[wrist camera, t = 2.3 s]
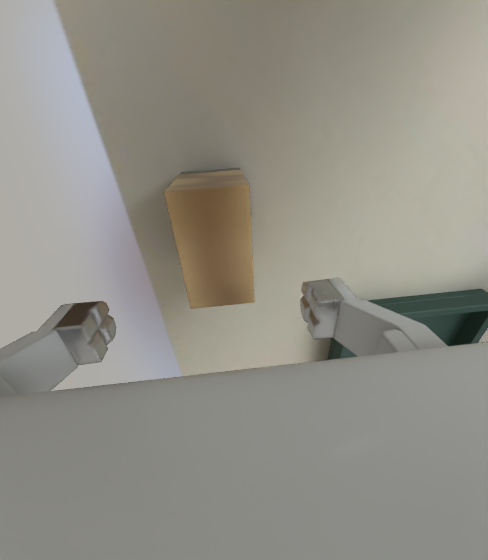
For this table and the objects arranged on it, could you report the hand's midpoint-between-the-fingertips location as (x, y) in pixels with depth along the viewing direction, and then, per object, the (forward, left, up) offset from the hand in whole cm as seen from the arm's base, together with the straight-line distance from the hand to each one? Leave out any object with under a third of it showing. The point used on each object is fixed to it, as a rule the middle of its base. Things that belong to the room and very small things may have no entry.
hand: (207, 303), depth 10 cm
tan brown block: (0, 0, -10) cm, 10 cm away
